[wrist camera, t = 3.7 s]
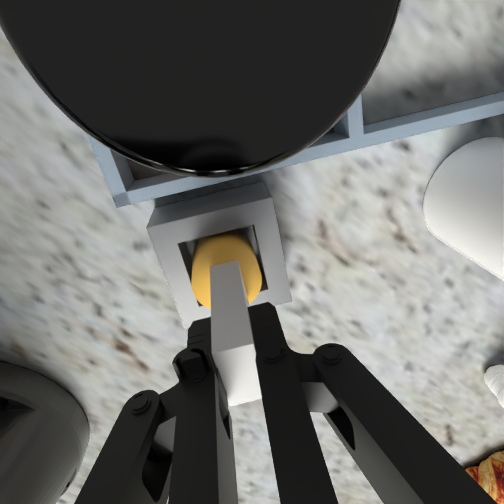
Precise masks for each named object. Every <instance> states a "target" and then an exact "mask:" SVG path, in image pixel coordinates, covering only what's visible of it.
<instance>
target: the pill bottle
mask: <svg viewBox="0 0 504 504" xmlns="http://www.w3.org/2000/svg"><path fill="white" fill-rule="evenodd" d="M423 215H424V220H425V223H426V225H427V227H428V229H429V231H430V232H431V233H432V234H433V235H434V236H435V237H436V238H437V239H439V240H440V241H442V242H443V243H445V244H447V245H448V246H450V247H451V248H453V249H454V250H456V251H457V252H459V253H461V254H462V255H464V256H465V257H467V258H468V259H470V260H471V261H473V262H475V263H476V264H478V265H479V266H481V267H482V268H484V269H485V270H487V271H489V272H490V273H492V274H493V275H495V276H496V277H498V278H499V279H501V280H503V281H504V138H501V137H485V138H481V139H477V140H474V141H472V142H469V143H467V144H465V145H463V146H462V147H460V148H459V149H457V150H456V151H454V152H453V153H452V154H451V155H450V156H448V157H447V158H446V159H445V160H444V161H443V162H442V164H441V165H440V166H439V167H438V169H437V170H436V171H435V173H434V175H433V176H432V178H431V180H430V181H429V184H428V187H427V189H426V192H425V196H424V201H423Z"/></svg>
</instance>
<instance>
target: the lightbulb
mask: <svg viewBox="0 0 504 504" xmlns="http://www.w3.org/2000/svg"><path fill="white" fill-rule="evenodd" d="M484 382H485V383H486V385H487V386H488V387H489V389H491V391H492V392H493V393H494V394H495V395H496V396H497V397H498V402H499V403H500V405H501V406H502V407H503V408H504V365H496V366H491V367H489V368H488V369H487V371H486V373H485V375H484Z"/></svg>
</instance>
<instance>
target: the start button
mask: <svg viewBox="0 0 504 504" xmlns="http://www.w3.org/2000/svg"><path fill="white" fill-rule="evenodd" d="M235 260H238V263H239V267H240V271H241V274H242V278H243V282H244V286H245V290H246V294H247V297H248V301H249V304H250V303H251V302H252V301H253V300H254V299H255V298H256V297H257V295H258V294H259V291H260V289H261V285H262V276H261V272H260V269H259V266H258V262H257V259H256V256H255V253H254V249H253V246H252V244H251V242H250V240H249V239H248V237H247V236H246V235H244V234H243V233H242V232H240V231H238V230H236V229H234V230H230V231H226V232H222V233H218V234H214V235H210V236H206V237H201V238H199V240H198V241H197V243H196V245H195V247H194V251H193V265H192V280H191V285H192V291H193V293H194V295H195V297H196V299H197V300H198V301H199V302H200V303H201V304H202V305H203V306H205V307H207V308H208V309H211V297H210V267H211V266H215V265H219V264H223V263H227V262H231V261H235Z"/></svg>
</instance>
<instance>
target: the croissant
mask: <svg viewBox="0 0 504 504" xmlns="http://www.w3.org/2000/svg"><path fill="white" fill-rule="evenodd" d="M466 471H467V472H468V474H469V475H470V476H471V477H472V478H473V479H474V480H475V481H476V482H477V483H478V484H479V485H480V486H481V487H482V488H483V489H484V490H485V491H486V492H487V493H488V494H489V495H490V496H491V497H492V498H493V499H494V500H495V501H496V502H497V503H498V504H504V450H503V451H501V452H500V451H499V452H495V453H493V454H492V455H491V456H489V457H488V458H487V459H486V460H482V462H481V463H480V465H479V466H477V467H469V468H467V469H466Z"/></svg>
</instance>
